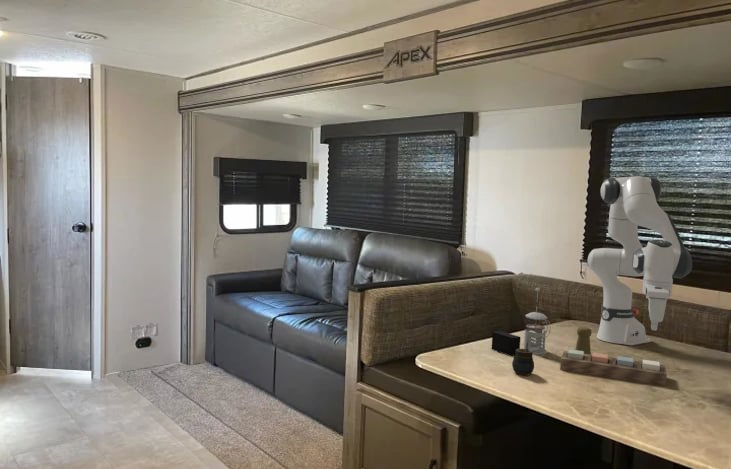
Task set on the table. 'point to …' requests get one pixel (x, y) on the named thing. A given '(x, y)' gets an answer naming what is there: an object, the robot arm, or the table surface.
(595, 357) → the terracotta key
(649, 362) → the cream key
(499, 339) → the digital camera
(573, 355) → the sage key
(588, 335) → the cork
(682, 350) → the table surface
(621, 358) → the slate key
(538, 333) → the french press
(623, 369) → the key frame
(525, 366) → the mate gourd
